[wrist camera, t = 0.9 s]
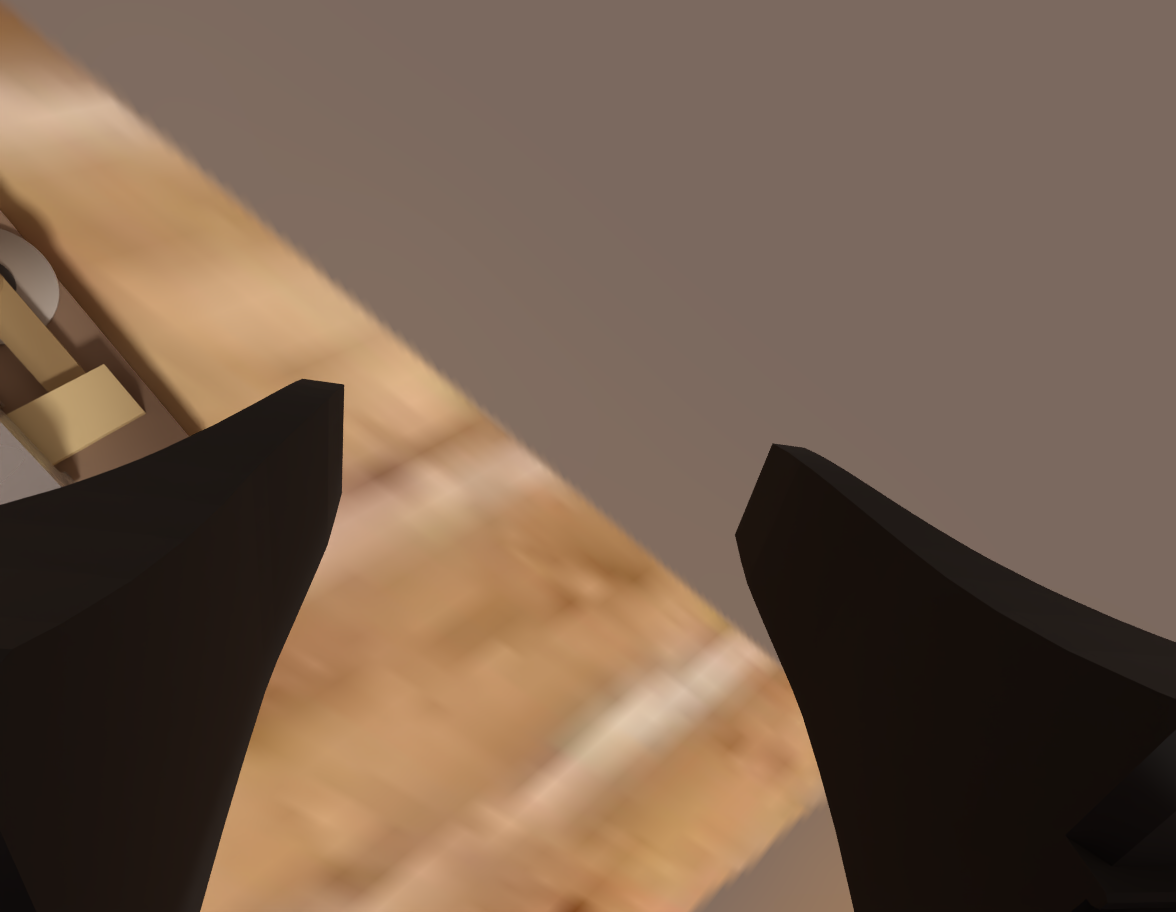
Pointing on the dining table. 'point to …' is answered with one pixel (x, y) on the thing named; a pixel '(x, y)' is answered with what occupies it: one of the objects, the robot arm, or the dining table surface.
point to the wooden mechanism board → (69, 373)
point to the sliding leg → (24, 465)
